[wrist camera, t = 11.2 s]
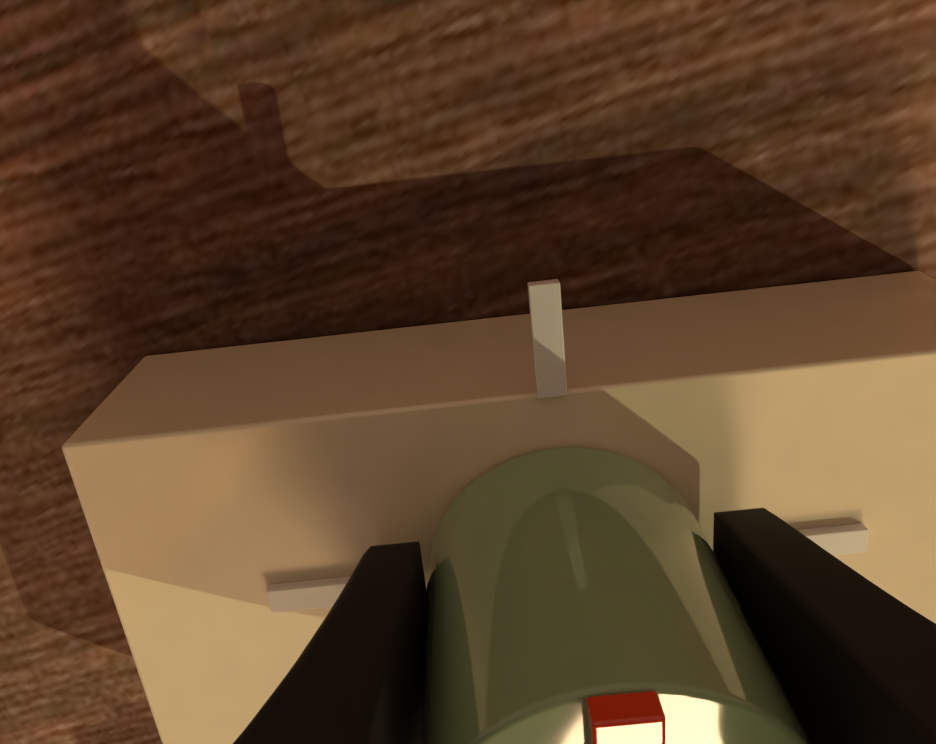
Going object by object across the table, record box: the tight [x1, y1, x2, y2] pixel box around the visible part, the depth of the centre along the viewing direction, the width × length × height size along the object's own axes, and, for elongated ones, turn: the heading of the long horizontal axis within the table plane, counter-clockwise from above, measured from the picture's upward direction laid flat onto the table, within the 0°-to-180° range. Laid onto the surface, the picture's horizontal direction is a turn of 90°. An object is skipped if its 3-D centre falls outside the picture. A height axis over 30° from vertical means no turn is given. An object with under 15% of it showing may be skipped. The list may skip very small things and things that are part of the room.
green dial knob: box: [420, 447, 811, 744], centre depth 9 cm, size 4×4×4 cm
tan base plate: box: [62, 271, 936, 744], centre depth 12 cm, size 12×8×3 cm
